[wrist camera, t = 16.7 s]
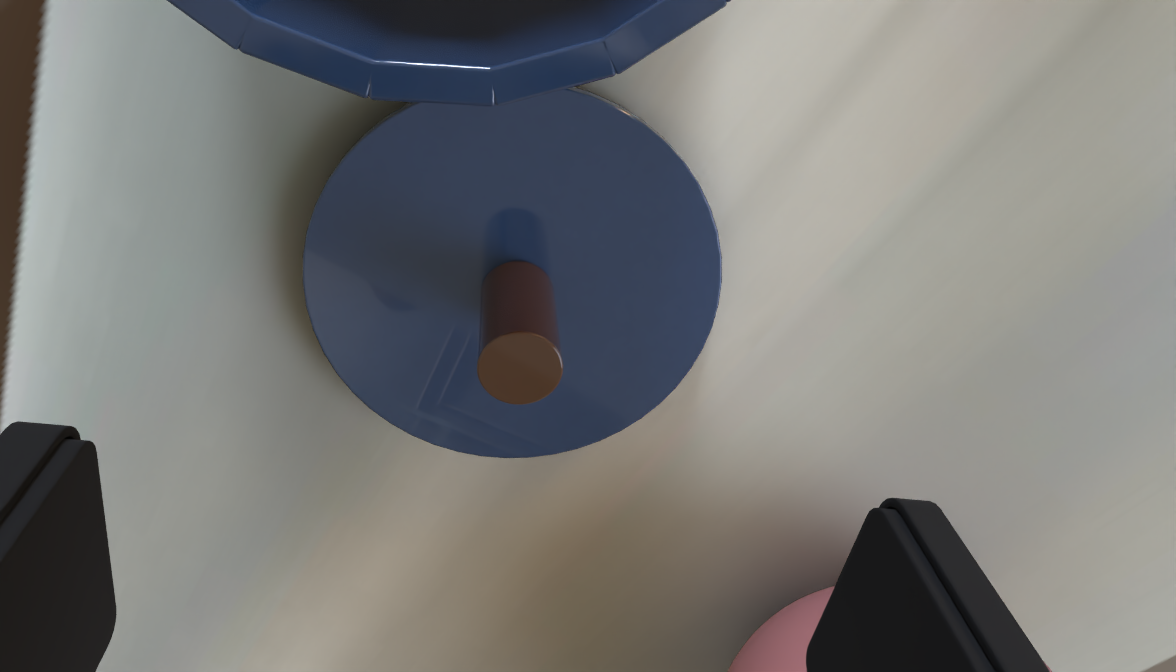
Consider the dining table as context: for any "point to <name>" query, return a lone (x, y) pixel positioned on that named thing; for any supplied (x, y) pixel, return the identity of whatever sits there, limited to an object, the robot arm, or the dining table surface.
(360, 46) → the pot
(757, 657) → the balloon
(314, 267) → the lid
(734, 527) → the dining table surface
